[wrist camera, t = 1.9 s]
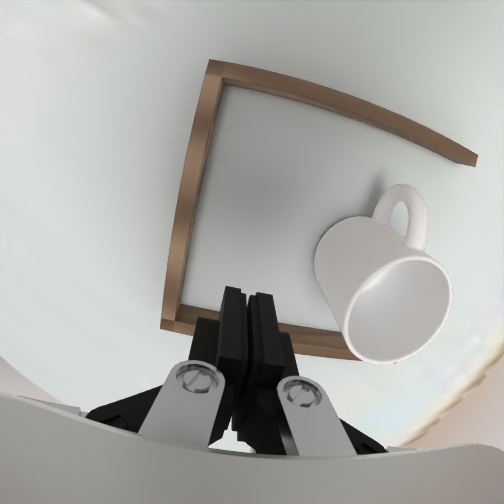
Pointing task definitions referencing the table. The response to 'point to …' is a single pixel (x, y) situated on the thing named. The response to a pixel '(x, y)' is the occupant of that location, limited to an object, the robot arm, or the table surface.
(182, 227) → the open wooden rail frame
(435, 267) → the mug
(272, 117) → the table surface
